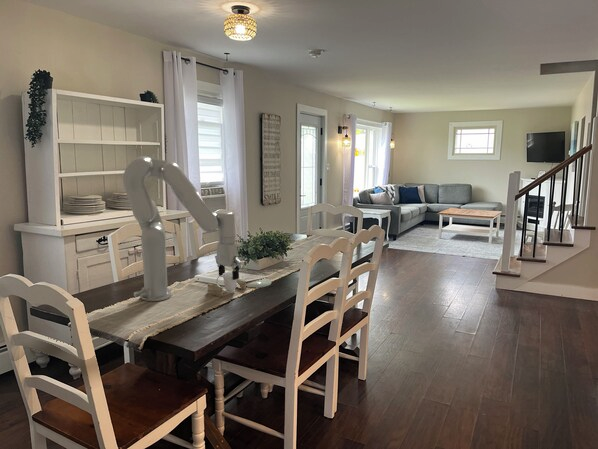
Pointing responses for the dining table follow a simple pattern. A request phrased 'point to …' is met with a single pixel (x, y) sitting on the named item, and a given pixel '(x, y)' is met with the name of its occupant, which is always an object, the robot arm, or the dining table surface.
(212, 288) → the maple blocks
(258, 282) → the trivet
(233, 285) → the cup
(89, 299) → the dining table surface
